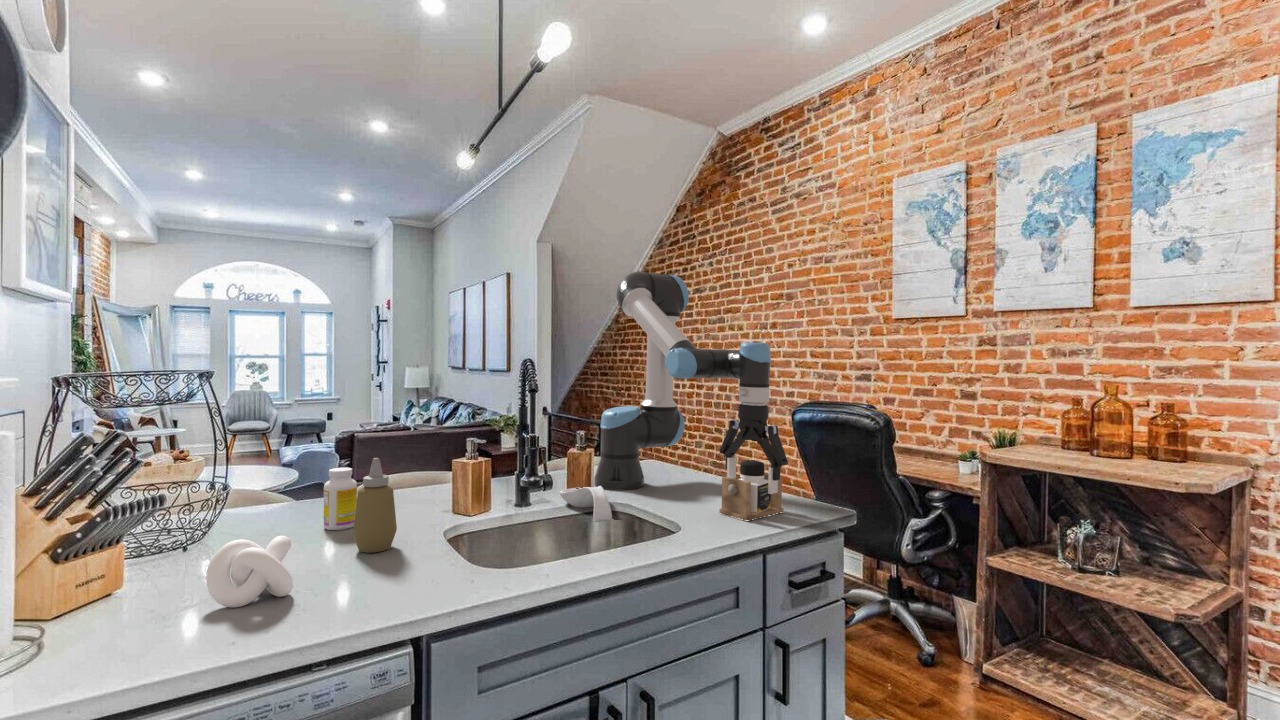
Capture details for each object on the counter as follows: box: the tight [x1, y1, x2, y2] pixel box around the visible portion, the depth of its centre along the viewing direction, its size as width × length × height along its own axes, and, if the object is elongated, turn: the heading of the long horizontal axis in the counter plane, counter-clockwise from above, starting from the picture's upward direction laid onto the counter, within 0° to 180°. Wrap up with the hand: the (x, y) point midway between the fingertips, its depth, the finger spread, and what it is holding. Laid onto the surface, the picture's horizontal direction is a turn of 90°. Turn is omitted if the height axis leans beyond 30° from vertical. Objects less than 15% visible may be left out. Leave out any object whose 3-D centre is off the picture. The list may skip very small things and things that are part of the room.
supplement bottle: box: [323, 467, 358, 531], centre depth 133 cm, size 7×7×13 cm
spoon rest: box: [559, 486, 613, 523], centre depth 151 cm, size 24×12×7 cm, turn 23°
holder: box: [718, 472, 785, 521], centre depth 150 cm, size 9×15×9 cm, turn 129°
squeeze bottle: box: [352, 457, 398, 553], centre depth 118 cm, size 8×8×18 cm
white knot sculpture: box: [205, 535, 294, 609], centre depth 95 cm, size 11×12×9 cm
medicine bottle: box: [738, 459, 771, 513], centre depth 150 cm, size 7×7×12 cm
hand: (751, 487), depth 151 cm, fingers open, 13 cm apart
